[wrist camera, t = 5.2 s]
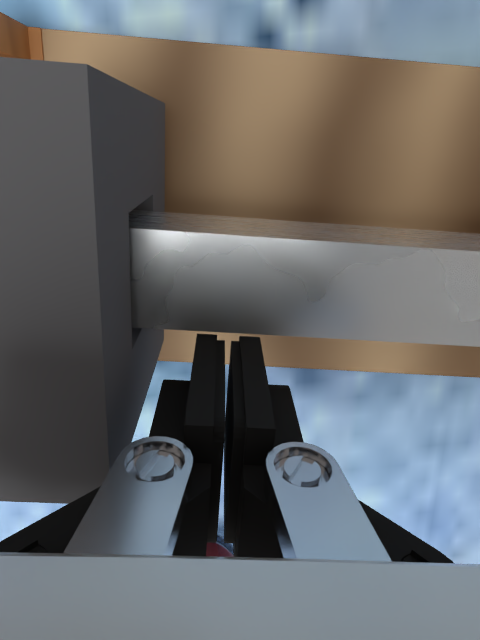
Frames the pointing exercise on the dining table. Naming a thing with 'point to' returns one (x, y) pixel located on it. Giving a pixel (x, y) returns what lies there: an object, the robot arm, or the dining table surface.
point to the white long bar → (303, 279)
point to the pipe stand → (301, 155)
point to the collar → (71, 273)
